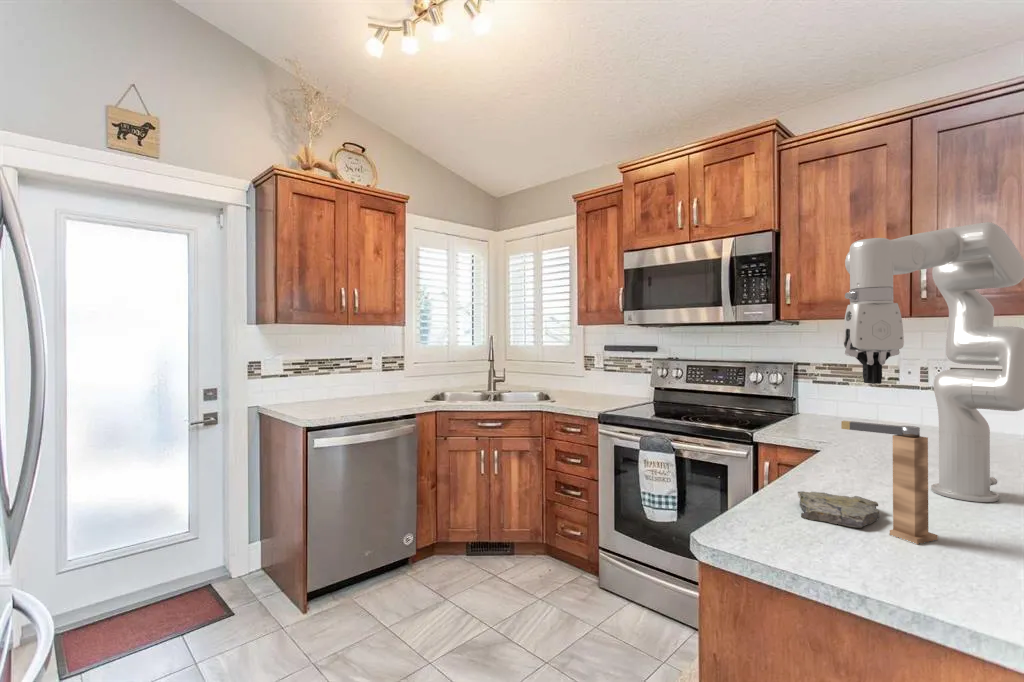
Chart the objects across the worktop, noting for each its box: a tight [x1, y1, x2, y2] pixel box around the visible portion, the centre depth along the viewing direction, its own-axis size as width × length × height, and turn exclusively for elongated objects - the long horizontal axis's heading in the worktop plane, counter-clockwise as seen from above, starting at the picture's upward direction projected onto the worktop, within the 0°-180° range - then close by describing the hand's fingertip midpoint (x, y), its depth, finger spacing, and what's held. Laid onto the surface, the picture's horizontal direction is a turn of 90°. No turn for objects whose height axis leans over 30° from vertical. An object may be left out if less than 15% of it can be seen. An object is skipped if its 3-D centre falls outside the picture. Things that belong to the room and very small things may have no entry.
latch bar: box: [840, 420, 921, 437], centre depth 103 cm, size 13×3×2 cm, turn 44°
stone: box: [797, 490, 880, 528], centre depth 112 cm, size 18×15×4 cm
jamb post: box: [889, 434, 939, 545], centre depth 99 cm, size 6×5×20 cm
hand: (872, 383), depth 107 cm, fingers closed
